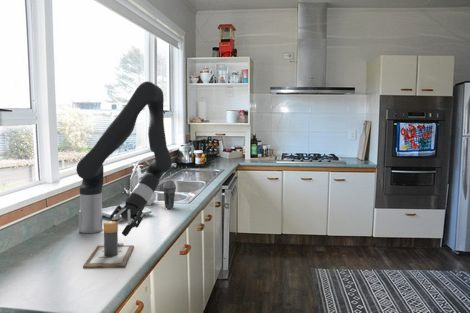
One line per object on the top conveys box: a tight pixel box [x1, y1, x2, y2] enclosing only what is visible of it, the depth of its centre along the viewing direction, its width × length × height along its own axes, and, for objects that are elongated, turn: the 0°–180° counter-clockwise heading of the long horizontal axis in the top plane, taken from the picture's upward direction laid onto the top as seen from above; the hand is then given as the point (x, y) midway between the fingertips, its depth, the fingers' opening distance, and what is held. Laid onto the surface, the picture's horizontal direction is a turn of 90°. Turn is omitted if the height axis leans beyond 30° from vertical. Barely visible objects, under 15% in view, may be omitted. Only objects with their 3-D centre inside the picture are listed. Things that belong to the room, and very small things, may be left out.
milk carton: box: [137, 171, 155, 206], centre depth 223 cm, size 7×7×19 cm
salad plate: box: [102, 203, 154, 222], centre depth 198 cm, size 21×21×3 cm
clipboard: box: [82, 242, 135, 269], centre depth 142 cm, size 14×20×2 cm
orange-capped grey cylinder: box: [103, 220, 119, 257], centre depth 142 cm, size 5×5×12 cm
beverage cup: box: [162, 172, 177, 210], centre depth 214 cm, size 7×7×20 cm
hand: (116, 232), depth 144 cm, fingers open, 8 cm apart
